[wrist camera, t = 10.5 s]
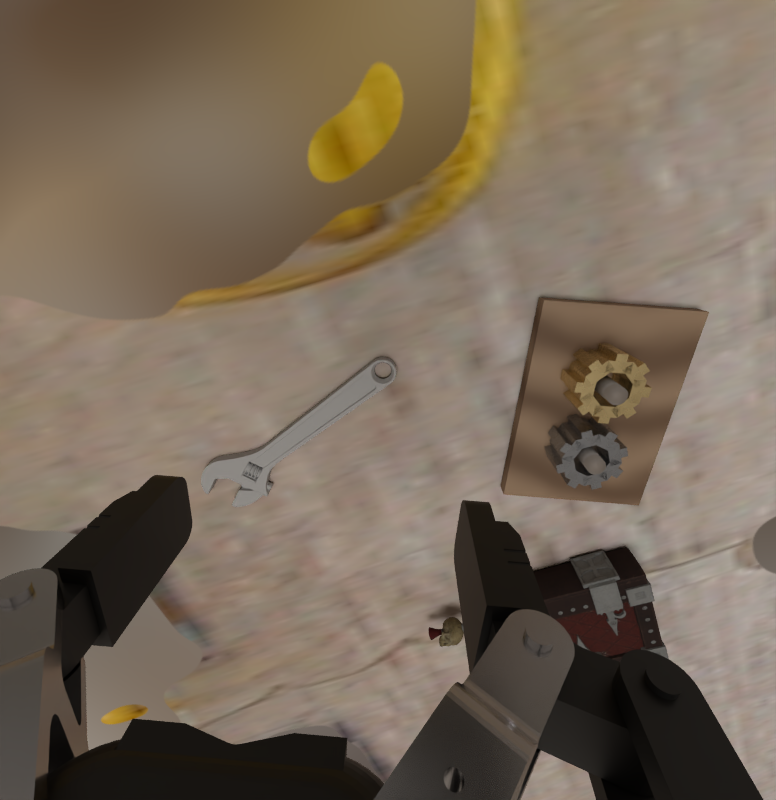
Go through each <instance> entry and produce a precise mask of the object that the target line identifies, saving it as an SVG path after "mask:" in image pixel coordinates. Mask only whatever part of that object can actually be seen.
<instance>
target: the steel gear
mask: <svg viewBox="0 0 776 800" xmlns="http://www.w3.org/2000/svg"><path fill="white" fill-rule="evenodd" d="M567 419H568V422H565V423H562V424H561V425H560V426H559V428H557V427H555V426H552V428H551V429H550V430H549V432H548V434H549V436H550V437H551V438H550V440H549V441H550V445H549V446H545V447H544V448H545V453H546V455H547V457H548V459H549V460H550V462H551V463H552V465H553V467H554V468H555V470H556V472H557V473H560V474H561V476H562V477H563V479H564V481H565V482H566V484H567V485H569V486H571V487H573V488H576V487H577V486H578V484H581V485H583V486H587V485H589V487H590V488H591V489H592V490H593V489H597V488H601V487H602V486H601V482H603V481H608V479H609V478H610V477H611V476H613V477H615V478H618V476H619V475H620V474H621V473H622V472H623V470H622V469H621V468H620V467H619V466H620V465H621V464H622V460H621V458H623V457H627V456H628V451H627V447H626V446H625V445H624V444H623V443H622V442H621V441H620V440H619V439H618V438H617V436H618V435H617V434H616V433H615V432H614V431H613V430H612V429H611V428H610V427H609V426H608V425H607V424H605V423H597V422H596V421H595V420H594V419H593V418H592V417H591V418H590V419H589V420H588V419H586V418H584V417H583V418H580V417H579V416H578V415H577V414H573V415H569V416H567ZM591 446H592V447H593V449H594V450H595V451H596V452H597V453H598V454H599V456H600V457H601V458H602V459H603V460H604V461H605V463H606V468H605V470H604V471H603V472H602V473H600V474H596V475H594V474H591V473H589V472H588V471H587V469H586V468H585V467H584V465H583V464H582V463H581V461H580V460H579V459H578V457H577V455H578V453H579V452H580V451H581V450H582V449H583V448H587V447H591Z"/></svg>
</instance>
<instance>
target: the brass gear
mask: <svg viewBox="0 0 776 800" xmlns="http://www.w3.org/2000/svg"><path fill="white" fill-rule="evenodd" d="M573 356H574V357H575V359H576V360H575V361H573V362H572V363H570V367H569V370H567V369H562V372H561V377H560V379H561V380H562V381H563V382H564V383H565V385H566V387H567V388H568V390H567V391H566V392H564V393H563V394H564V395H565V396H566V398H567V399H568V400H569V401H570V402H571V403H572V404H573V406H574V407H575V408H576V409H577V410H578V411H579V412H580V413H581V414H582V415H585V414H586V413H589V414H590V415H591V417H592V418H593V419H594V420H595V421H596V422H597V423H605V424H608V423H609V420H610V417H611V418H618V417H619V416H621V415H623V416H624V417H625V418H629V417H630V416H632V415H634V414H635V413H636V411H635V410H634V408H633V407H635V406H636V405H638V404H639V403H640V400H641V397H646V398H649V395H650V392H651V389H652V387H650V386H649V385H647V384H646V381H647V380H646V379H645V377H644V376H643V375H645V374H646V373H648V372H649V371H650V370H649V369H648V367H647V366H646V364H645V363H644V362H642V361H640V360H638V359H637V358H635V357H633V356H631V355H629V354H628V353H626V352H624V351H621V350H620V349H618V348H616V347H614V346H613V345H611V344H607V343H599V345H598V349H590V350H589V351H587V352H586V351H585V350H583V349H582V348H581V349H579V350H578V351H577V352H575V353H574V354H573ZM609 373H613V375H612V378H611V379H613V380H614V381H615V382H617V383H618V384H620V385H621V386H622V387H624V388H625V389H626V390H627V391H628V398H627V400H626V401H625V402H624V403H622V404H620V405H612V404H610V403H609V402H608V401H607V400H606V399H605V398H603V397H602V396H601V395H600V394H599V393H598V392H594V390H595V386H596V383H597V381H599V380H600V379H601V378H603V377H604V376H606V375H607V374H609Z"/></svg>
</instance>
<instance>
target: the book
mask: <svg viewBox="0 0 776 800" xmlns="http://www.w3.org/2000/svg"><path fill="white" fill-rule="evenodd" d="M570 561H571V562H569V563H565V564H561V565H558V566H554V567H550V568H546V569H543V570H539V571H535V572H534V575H535V578H536V580H537V583H538V586H539V588H540V591H541V594H542V597H543V599H544V602H545V605H546V607H547V610H548V613H549V615H550V617H552V618H553V619H555V620H556V621H557V622H559V623H560V624H561V625H562V626H563V627H564V628H565V630H566V631H567V632H568V634H569V635H570V637H571V639H572V642H574V643H575V644H577V645H579V646H581V647H582V648H585V649H587V650H589V651H592V652H595V653H597V654H600V655H603V656H605V657H608V658H611V659H613V660H616V661H619V662H620V661H621V658H622V657H623V655H624V654H625V653H627V652H629V651H631V650H647V651H651V652H654V653H657V654H659V655H661V656H663V657H665V658H667V659H668V654H667V650H666V646H665V645H664V643H663V642H662V640H661V636H660V632H659V628H658V624H657V620H656V616H655V611H654V607H653V603H652V601H654V597H653V592H652V588H651V584H650V583H649V581H648V580H647V579H646V575H645V573H644V571H643V569H642V568H641V566H640V565H639V563H638V562H637V560H636V559H635V557H634V556H633V554H632V553H631V552H630V550H629V549H628V548H627V547H625V548H621V549H617V550H614V551H610V552H606V553H605V552H604V550H602V551H598V552H594V553H591V554H587V555H583V556H580V557H576V558H572V559H570ZM463 634H464V628H463V624H462V623H461V622H460V621H459V620H458V619H457V618H454V617H450V618H448V619H447V620H445V621H444V623H443V629H434V628H430V627H429V636H430V639H431V640H433V639H434V638H436V637H437V636H439V635H442V636H440V639H439V643H440V646H441V647H442V646H450V645H457V644H458V643H459V642H460V641H461V639H462V637H463Z"/></svg>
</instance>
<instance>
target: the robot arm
mask: <svg viewBox="0 0 776 800" xmlns="http://www.w3.org/2000/svg"><path fill="white" fill-rule="evenodd" d="M191 529H192V516H191V509H190V502H189V496H188V489H187V483H186V480H185V479H184V478H183V477H175V476H163V475H154V476H152V477H151V478H150V479H149V480H148V481H147V482H146V483H145V484H144V485H143V486H142V487H141V488H140V489H139V490H138V491H132V492H130V493H128V494H126V495H125V496H123V497H121V498H119V499H117V500H115V501H114V502H112V503H111V504H110V505H109V506H108V507H107V508H106V509H105V510H104V511H103V512H102V513H100V514H99V517H96V518H95V519H94V520H93V521H92V522H91V523H90V524H88V525H87V528H84V529H83V530H82V531H81V532H80V533H79V534H78V535H77V536H75V537H74V538H73V539H72V540H71V541H70V542H69V543H68V544H67V545H66V546H65V547H64V548H63V549H61V550H60V551H59V552H58V553H57V554H56V555H55V556H54V557H53V558H52V559H50V560H49V561H48V562H47V563H46V564H45V565H44V566H43V567H42V568H37V569H29V570H24V571H20V572H17V573H15V574H12V575H9V576H7V577H5V578H3V579H1V580H0V800H521V798H522V795H523V793H524V790H525V788H526V786H527V783H528V781H529V778H530V776H531V774H532V771H533V769H534V766H535V764H536V762H537V759H538V757H539V754H540V752H541V750H542V751H544V752H546V753H548V754H551V755H553V756H555V757H557V758H559V759H561V760H563V761H566V762H568V763H570V764H572V765H574V766H576V767H579V768H581V769H583V770H585V771H587V772H588V773H589V776H590V780H591V783H592V787H593V790H594V794H595V797H596V800H763V798H762V797H761V795H760V793H759V791H758V790H757V788H756V786H755V784H754V783H753V781H752V779H751V778H750V776H749V774H748V772H747V771H746V769H745V767H744V766H743V764H742V762H741V760H740V759H739V757H738V755H737V753H736V752H735V750H734V748H733V747H732V745H731V743H730V741H729V740H728V738H727V736H726V734H725V733H724V731H723V729H722V728H721V726H720V724H719V722H718V721H717V719H716V717H715V715H714V714H713V712H712V710H711V709H710V707H709V705H708V703H707V702H706V700H705V698H704V697H703V695H702V693H701V691H700V690H699V688H698V687H697V685H696V684H695V682H694V681H693V680H692V679H691V678H690V676H689V675H688V674H687V673H686V672H685V671H684V670H682V669H681V668H680V667H679V666H678V665H676V664H675V663H673V662H672V661H670V660H669V659H667V658H665V657H663V656H661V655H659V654H657V653H654V652H651V651H647V650H631V651H629V652H627V653H625V654H624V655H623V657H622V658H621V661H620V662H619V661H616V660H613V659H611V658H608V657H605V656H603V655H600V654H597V653H595V652H592V651H589V650H587V649H585V648H582V647H581V646H579V645H577V644H575V643H574V642H572V639H571V637H570V635H569V634H568V632H567V631H566V630H565V628H564V627H563V626H562V625H561V624H560V623H559V622H557V621H556V620H555V619H553V618H552V617H550V615H549V613H548V610H547V607H546V605H545V602H544V599H543V597H542V594H541V591H540V588H539V586H538V583H537V580H536V578H535V575H534V572H533V569H532V567H531V566H530V561H529V559H528V556H527V553H525V551H526V550H525V548H524V545H523V542H522V540H521V537H520V535H519V534H518V533H517V532H516V531H515V529H514V528H513V527H512V526H511V525H510V524H509V523H508V522H500V521H495V518H494V515H493V512H492V508H491V505H490V503H489V502H478V501H466V500H463V501H462V503H461V508H460V514H459V521H458V527H457V533H456V539H455V547H454V564H455V572H456V579H457V586H458V593H459V600H460V607H461V614H462V621H463V628H464V636H465V643H466V650H467V657H468V664H469V671H470V675H469V676H468V678H467V679H466V680H465V682H464V683H463V684H460V683H459V682H457V683H455V684H454V685H453V686H452V687H451V688H450V689H449V691H448V692H447V693H446V695H445V696H444V698H443V699H442V701H441V702H440V704H439V705H438V707H437V708H436V709H435V711H434V712H433V714H432V715H431V717H430V718H429V720H428V721H427V723H426V724H425V725H424V727H423V728H422V730H421V731H420V733H419V734H418V736H417V737H416V739H415V740H414V741H413V743H412V744H411V746H410V747H409V749H408V750H407V752H406V753H405V755H404V756H403V757H402V759H401V760H400V762H399V763H398V765H397V766H396V768H395V769H394V771H393V772H392V773H391V775H390V776H389V778H388V779H387V781H386V782H385V784H384V783H383V782H382V781H381V780H380V779H379V778H378V777H377V776H376V775H375V774H373V773H372V772H371V771H370V770H369V769H367V768H366V767H364V766H362V765H361V764H359V763H358V762H356V761H354V760H352V759H350V758H347V757H346V755H347V754H346V753H347V738H341V737H330V736H319V735H307V734H297V733H293V734H288V735H284V736H278V737H274V738H268V739H263V740H258V741H253V742H248V743H243V744H237V745H235V744H230V743H227V742H225V741H223V740H221V739H218V738H216V737H214V736H212V735H210V734H207V733H205V732H203V731H201V730H199V729H196V728H194V727H192V726H190V725H187V724H185V723H174V722H164V721H152V720H141V719H132V721H131V723H130V725H129V726H128V728H127V730H126V732H125V733H124V735H123V737H122V739H121V740H116V741H113V742H110V743H107V744H104V745H101V746H98V747H96V748H94V749H91V750H89V749H88V741H87V717H86V716H87V715H86V671H85V668H86V667H85V660H84V657H83V656H84V655H85V653H86V652H87V651H88V649H89V648H90V647H91V645H97V646H109V647H113V645H114V644H115V643H116V641H117V640H118V638H119V637H120V635H121V634H122V633H123V631H124V630H125V629H126V627H127V626H128V624H129V623H130V621H131V620H132V619H133V617H134V616H135V614H136V613H137V612H138V610H139V609H140V607H141V606H142V605H143V603H144V602H145V600H146V599H147V598H148V596H149V595H150V593H151V592H152V591H153V589H154V588H155V586H156V585H157V583H158V582H159V581H160V579H161V578H162V576H163V575H164V574H165V572H166V571H167V569H168V568H169V567H170V565H171V564H172V562H173V561H174V560H175V558H176V557H177V555H178V554H179V552H180V551H181V550H182V548H183V547H184V545H185V544H186V542H187V541H188V539H189V536H190V533H191Z"/></svg>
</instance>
